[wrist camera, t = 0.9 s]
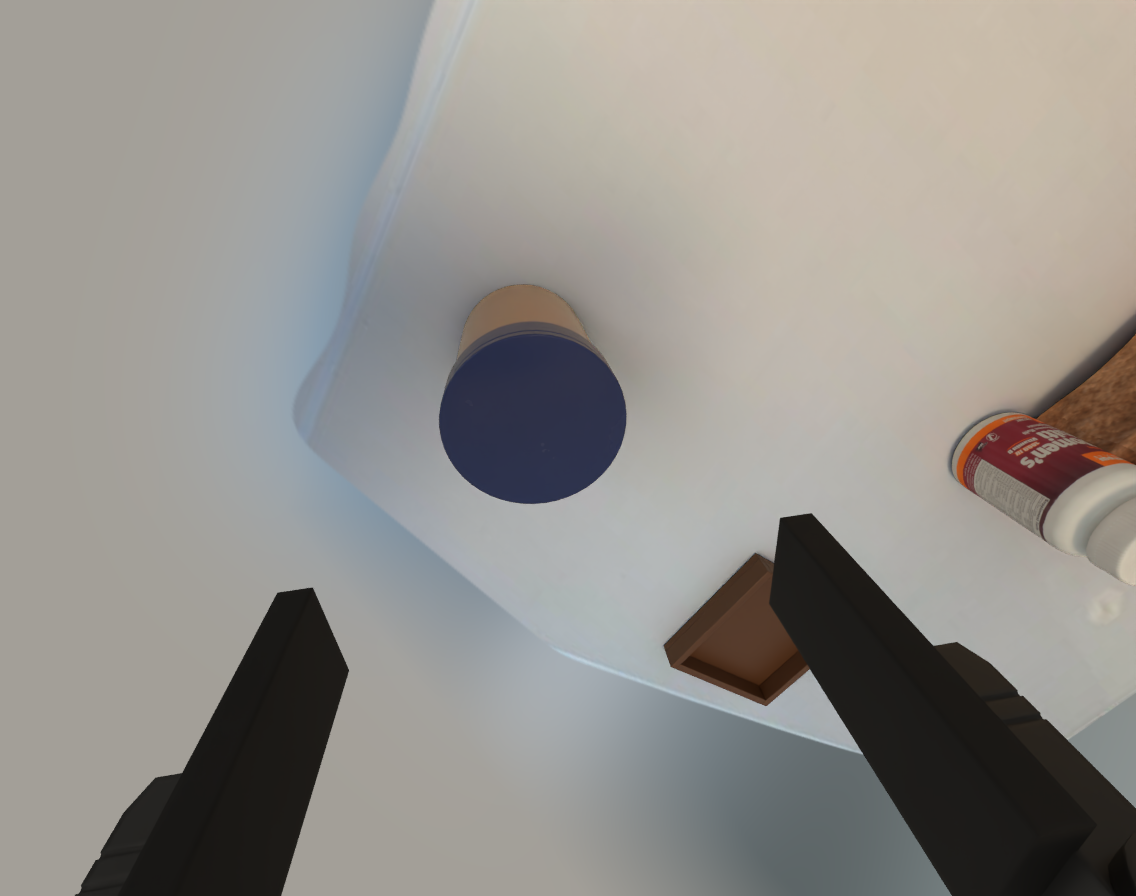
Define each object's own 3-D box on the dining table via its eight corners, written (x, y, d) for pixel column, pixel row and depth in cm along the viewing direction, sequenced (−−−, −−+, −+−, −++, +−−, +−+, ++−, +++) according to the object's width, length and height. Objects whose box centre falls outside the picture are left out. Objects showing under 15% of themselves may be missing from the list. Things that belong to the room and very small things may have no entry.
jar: (473, 410, 31) (463, 503, 22) (450, 292, 28) (428, 347, 19) (588, 395, 32) (622, 481, 23) (578, 277, 28) (615, 324, 19)
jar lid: (460, 491, 24) (457, 516, 22) (424, 333, 20) (417, 347, 18) (620, 469, 24) (629, 491, 22) (613, 310, 20) (623, 322, 19)
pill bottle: (1033, 395, 35) (1242, 482, 25) (1029, 465, 38) (1215, 567, 28) (945, 431, 36) (1117, 528, 26) (948, 497, 39) (1103, 608, 29)
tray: (663, 645, 43) (670, 667, 41) (755, 552, 39) (768, 571, 37) (755, 685, 47) (766, 706, 45) (847, 604, 43) (863, 623, 41)
